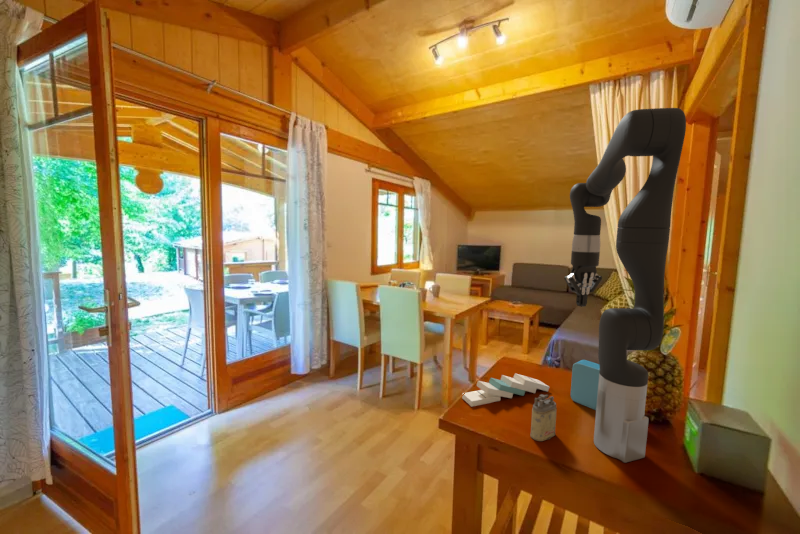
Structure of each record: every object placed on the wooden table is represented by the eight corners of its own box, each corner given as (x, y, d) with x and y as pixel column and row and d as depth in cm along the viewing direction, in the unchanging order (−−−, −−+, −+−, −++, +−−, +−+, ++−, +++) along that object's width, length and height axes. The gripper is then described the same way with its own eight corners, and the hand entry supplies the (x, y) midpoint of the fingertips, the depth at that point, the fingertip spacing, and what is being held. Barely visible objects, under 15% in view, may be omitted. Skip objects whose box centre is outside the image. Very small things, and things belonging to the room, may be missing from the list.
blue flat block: (620, 412, 94) (624, 371, 93) (614, 418, 92) (618, 375, 90) (576, 395, 104) (579, 358, 102) (569, 400, 101) (572, 361, 99)
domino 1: (490, 388, 105) (462, 393, 101) (500, 395, 100) (471, 401, 96) (490, 393, 105) (462, 398, 101) (500, 400, 100) (471, 406, 97)
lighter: (546, 427, 87) (548, 390, 86) (559, 435, 84) (562, 397, 83) (527, 435, 84) (529, 397, 82) (540, 444, 80) (542, 404, 79)
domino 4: (525, 381, 109) (502, 374, 106) (536, 388, 105) (512, 381, 101) (523, 386, 109) (500, 379, 106) (535, 393, 105) (510, 386, 101)
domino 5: (538, 379, 111) (515, 373, 107) (549, 386, 106) (525, 379, 102) (536, 384, 111) (513, 378, 107) (547, 391, 106) (523, 385, 102)
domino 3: (523, 396, 103) (499, 389, 99) (512, 388, 108) (488, 382, 104) (525, 390, 103) (501, 384, 99) (514, 383, 108) (490, 377, 104)
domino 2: (502, 385, 106) (478, 380, 102) (513, 393, 102) (488, 387, 97) (500, 390, 106) (476, 385, 102) (511, 398, 101) (486, 393, 97)
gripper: (578, 251, 97) (574, 310, 99) (613, 250, 101) (608, 307, 103) (558, 249, 104) (555, 304, 106) (592, 249, 108) (587, 302, 110)
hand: (581, 305), depth 105 cm, fingers closed
